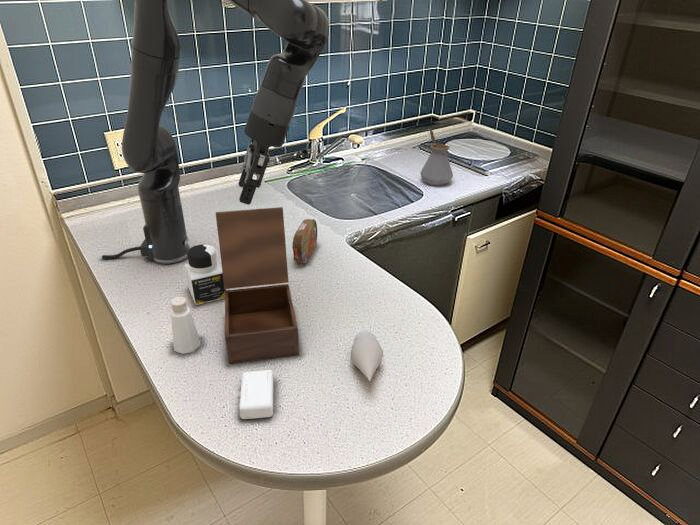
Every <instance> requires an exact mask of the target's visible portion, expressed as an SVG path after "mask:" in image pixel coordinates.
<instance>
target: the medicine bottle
mask: <svg viewBox="0 0 700 525" xmlns="http://www.w3.org/2000/svg"><path fill="white" fill-rule="evenodd" d="M217 259H218V258H217V252H216V248H215V247H214V246H213V245H211V244H205V243H202V244H201V243H200V244H197V245H193V246H191V247H189V250H188V251H187V262H188V263H185V264H184V269H185V275H186V281H187V286H188V290H189V291H188V292H189V293H190V295H191V298H192V300H193V303H194V305H196V306H198V305H199V306H200V305H203V304H207V303H210V302H214V301H218V300H219V301H220V300H222V299H225V291H226V290H227V289H224V281H223V273H222V266H221V265H220V263H219V262H218V260H217Z"/></svg>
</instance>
